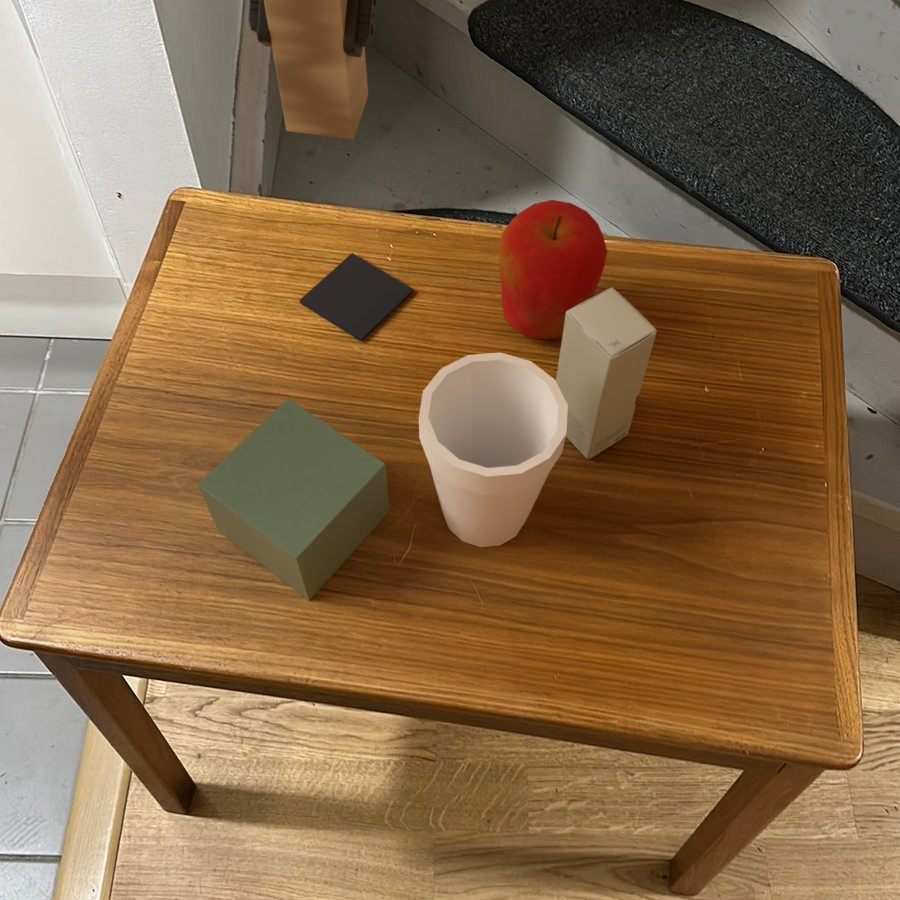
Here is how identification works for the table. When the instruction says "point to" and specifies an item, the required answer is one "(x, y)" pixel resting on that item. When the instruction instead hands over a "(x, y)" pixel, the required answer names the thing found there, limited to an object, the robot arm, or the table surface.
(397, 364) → the table surface
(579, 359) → the box
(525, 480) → the foam cup
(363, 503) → the stand
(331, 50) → the block
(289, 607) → the table surface
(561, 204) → the apple
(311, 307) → the mat
